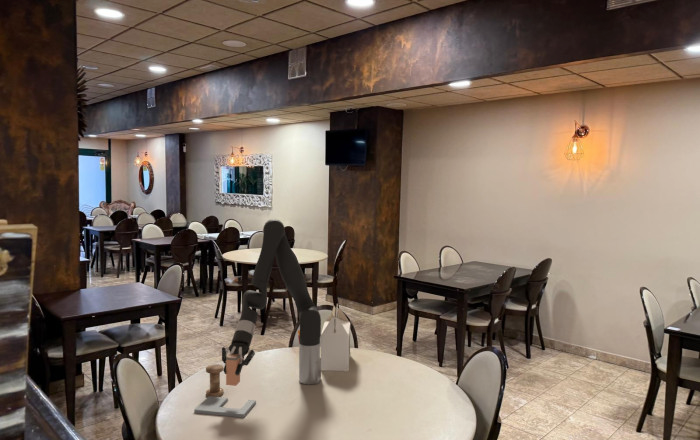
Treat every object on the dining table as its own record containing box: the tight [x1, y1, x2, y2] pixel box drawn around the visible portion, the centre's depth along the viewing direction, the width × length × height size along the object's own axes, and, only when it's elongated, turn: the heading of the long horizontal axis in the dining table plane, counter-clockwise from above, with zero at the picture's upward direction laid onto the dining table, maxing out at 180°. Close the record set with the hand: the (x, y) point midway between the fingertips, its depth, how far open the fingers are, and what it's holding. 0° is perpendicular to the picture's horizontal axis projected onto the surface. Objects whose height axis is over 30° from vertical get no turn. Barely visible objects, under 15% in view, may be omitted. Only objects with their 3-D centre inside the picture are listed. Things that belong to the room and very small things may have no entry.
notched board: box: [193, 396, 257, 418], centre depth 182 cm, size 20×12×1 cm, turn 80°
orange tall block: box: [225, 353, 241, 387], centre depth 183 cm, size 4×4×11 cm
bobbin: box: [205, 363, 225, 398], centre depth 194 cm, size 7×7×11 cm
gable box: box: [320, 303, 351, 372], centre depth 231 cm, size 22×13×28 cm, turn 178°
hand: (231, 373), depth 181 cm, fingers closed on orange tall block, 4 cm apart
